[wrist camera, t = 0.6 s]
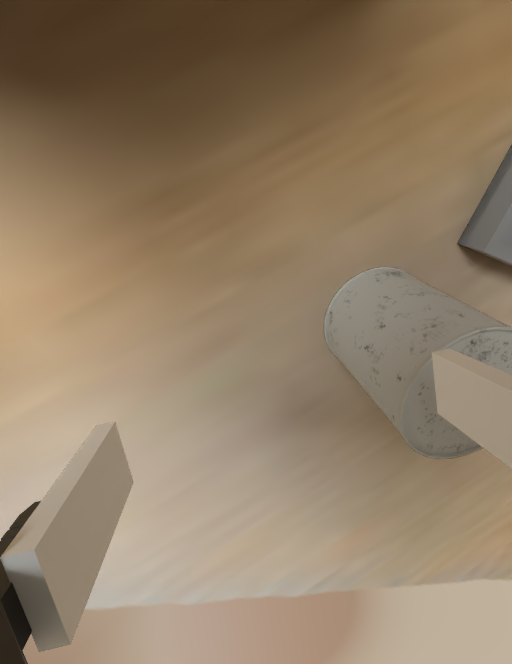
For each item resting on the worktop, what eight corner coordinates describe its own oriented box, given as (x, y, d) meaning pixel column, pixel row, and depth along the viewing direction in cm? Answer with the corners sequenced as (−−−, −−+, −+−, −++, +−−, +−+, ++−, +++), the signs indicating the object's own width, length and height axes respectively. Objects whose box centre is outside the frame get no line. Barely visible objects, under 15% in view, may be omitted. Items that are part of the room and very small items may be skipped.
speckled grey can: (442, 293, 34) (571, 360, 23) (382, 378, 37) (473, 472, 26) (363, 247, 31) (471, 301, 20) (303, 344, 33) (370, 438, 23)
